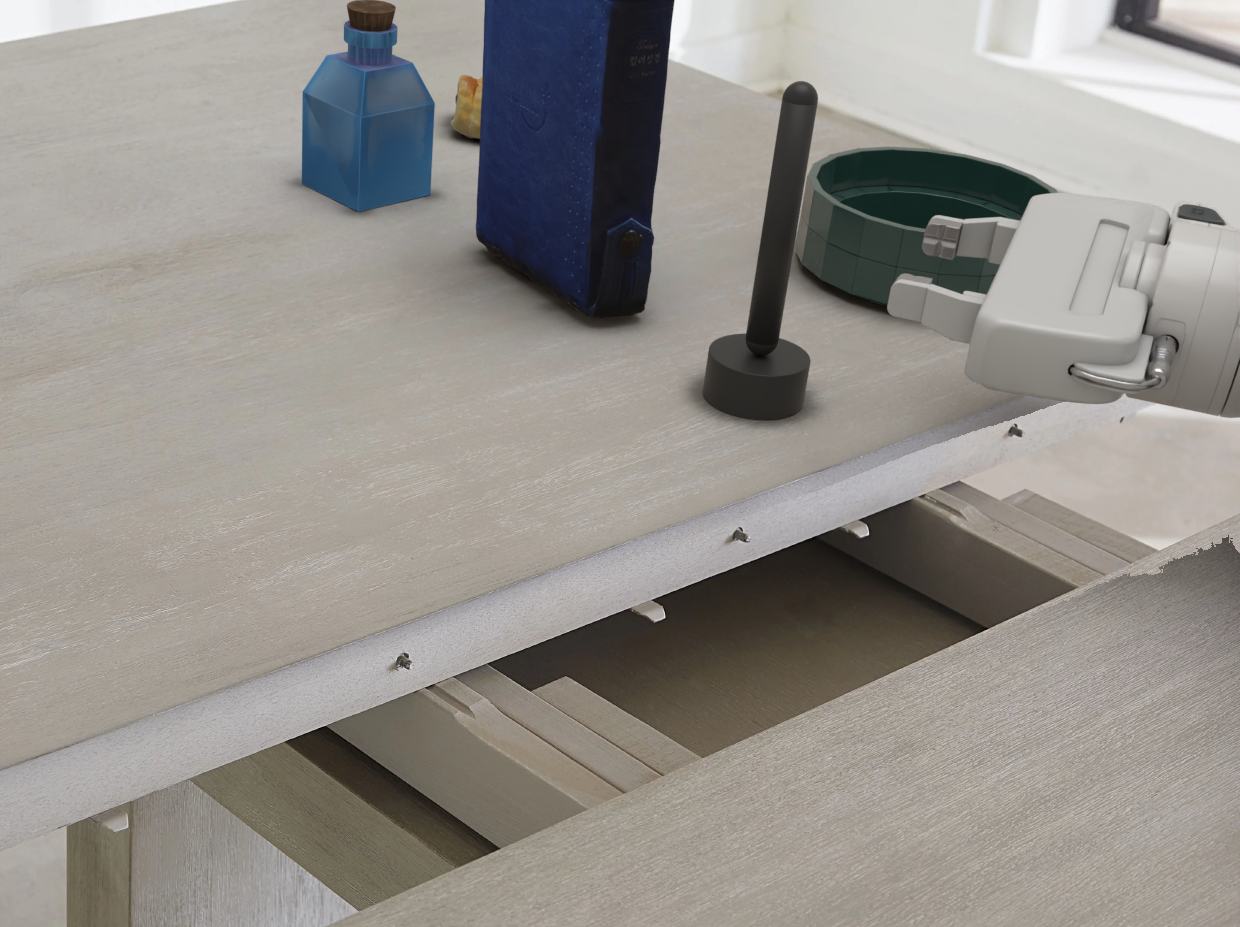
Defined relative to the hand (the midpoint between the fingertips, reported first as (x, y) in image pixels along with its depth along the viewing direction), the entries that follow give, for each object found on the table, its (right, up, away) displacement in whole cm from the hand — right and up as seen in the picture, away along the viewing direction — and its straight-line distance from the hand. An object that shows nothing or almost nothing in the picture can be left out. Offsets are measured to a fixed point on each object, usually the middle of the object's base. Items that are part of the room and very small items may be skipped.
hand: (909, 262), depth 98 cm
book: (-18, +3, +19) cm, 26 cm away
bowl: (+6, +5, +25) cm, 26 cm away
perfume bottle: (-30, +12, +31) cm, 45 cm away
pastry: (-21, +20, +43) cm, 51 cm away
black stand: (-7, -6, +7) cm, 12 cm away
